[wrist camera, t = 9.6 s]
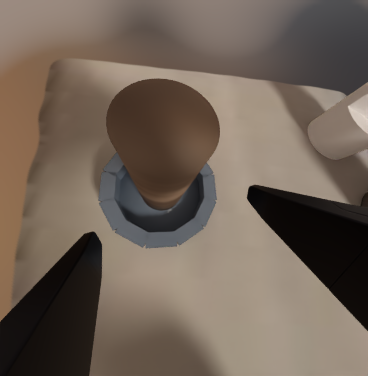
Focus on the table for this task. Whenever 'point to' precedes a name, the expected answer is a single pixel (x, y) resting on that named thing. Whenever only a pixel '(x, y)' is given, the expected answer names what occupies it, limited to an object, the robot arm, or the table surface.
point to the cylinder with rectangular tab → (342, 127)
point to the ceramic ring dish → (150, 218)
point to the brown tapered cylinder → (162, 137)
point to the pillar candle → (365, 201)
